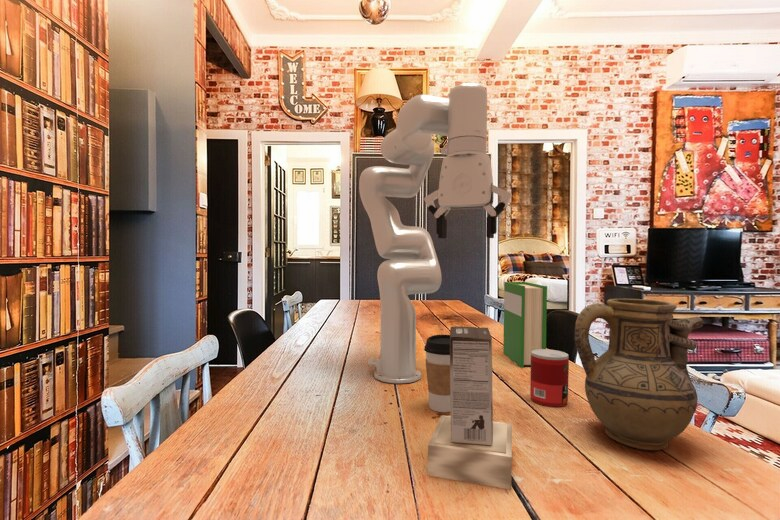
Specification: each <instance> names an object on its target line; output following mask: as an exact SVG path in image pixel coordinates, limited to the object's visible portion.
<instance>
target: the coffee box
mask: <svg viewBox="0 0 780 520" xmlns="http://www.w3.org/2000/svg"><path fill="white" fill-rule="evenodd" d="M449 335H450V406H451V412H450V416H451V442H456V443H470V444H484V445H492V444H493V422H494V421H493V420H494V419H493V416H494V415H493V408H494V406H493V337H492V335H491V332H490V330H489V328H488V327H476V326H461V325H460V326H459V325H457V326H451V327H450V332H449Z"/></svg>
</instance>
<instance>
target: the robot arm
mask: <svg viewBox="0 0 780 520" xmlns="http://www.w3.org/2000/svg"><path fill="white" fill-rule="evenodd" d="M395 122H396V123H395V124H396V125H395V126H396V127H395V129H393V130H392V131H391V132H388V133H387V134H386V135H385V136H384V137H383V139H382V140H381V144H380V148H379V149H380V153H381V155H382V157H383V158H384V159H385V160H386V161H388V162H390V163H393V164H397V165H398V164H399V165H407V166H409V167H408V168H402V167H392V166H384V165H383V166H381V165H378V166H377V165H375V166H369V167H366V168H365V169H363V170H362V172H361V173H360V176H359V183H358V185H359V186H358V187H359V196H360V200H361V203H362V205H363V208H364V209H365V211H366V214H367V216H368V218H369V220H370V224H371V226H370V227H371V231H372V235H373V238H374V239H373V240H374V244H375V247H376V251H377V253H378V255H379V256H380V257H381V258H383V259H385V260H384V261H383V262H381V264H380V265H379V266H378V269H377V273H376V275H377V284H378V290H379V291H378V292H379V301H380V334H379V335H380V336H379V337H380V341H379V342H380V343H379V344H380V345H379V346H380V350H379V351H380V352H379V353H380V354H379V355H380V356H379V358H377V357H371V356H370V357H369V359H368V360H367V361H368V362H367V363H368V366H369V367H375V368H376V369H375V370H374V372H373V373H374V374H373V375H374V376H373V377H374V378H375V379H376V380H378V381H380V382H383V383H388V384H408V383H415V382H417V381H419V380H420V379H421V378H422V372H421V370H419V369H417V368H416V366H417V364H416V363H417V361H416V359H417V357H416V355H417V353H416V352H417V349H416V348H417V311H416V307H415V305H414V304H413V302H412V301H411V299H410V298H409V295H425V294H426V295H427V294H432V293H435V292H437V291H438V290H439V289H440V287H441V284H442V280H443V279H442V271H441V266H440V261H439V259H438V255H437V253H436V249H435V246H434V241H433V239H432V236H431V235H430V233H429V231H427V230H426V228H424V227H420V226H413V225H411V226H410V225H405V224H403V223H402V221H401V218H400V216H401V215H400V214H399V211H398V209H397V208H396V206H395V205H394V204H393V203H392V202H391V201H389V200H388V199H387V197H389V198H403V199H404V198H405V199H409V198H413V197H415V196H417V194H418V193H419V192H420V189H421V187H422V186H423V182H424V181H425V178H426V175H427V173H428V171H429V168H430V167H431V164H432V162H433V160H434V159H433V158H434V155H435V144H434V141H433V139H432V135H438V136H445V137H447V142H446V145H445V146H444V147H441V148H440V154H441V155H446V157H443V159H442V163H441V169H440V175H439V183H438V188H437V189H436V190H434V191H432V192H431V193H430V194H428V195H426V196H425V197H424V202H425V205H426V207H427V208H428V210H429V212H430V213H431V214H432V215H433V216H434V218H435V219H436V225H435V226H436V228H435V229H436V232H435V233H436V235H438V236H437V238H438V239H442V240H443V239H447V234H448V231H447V229H448V226H447V225H448V224H447V223H448V222H447V221H448V220H447V219H446V216H447V215H448V214H449V212H450V211H451V210H475V209H484V210H485V211H486V212H487V213H488V215H487V217H486V234H485V235H486V238H488V239H495V235H496V234H497V231H498V230H497V229H498V228H497V227H498V225H497V222H498V220H497V219H498V217H499V216H500V215H501V214H502V213H503V211H504V210H505V209H506V208H507V206H508V204H509V202H510V200H511V199H512V197H513V194H512V193H511V192H510V191H507V190H505V189H503V188H501V187H498V186H496V185H494V178H493V168H492V163H491V157H490V155H489V154H487V147H488V146H487V141H488V140H487V136H488V134H487V132H488V91H487V89H486V88H485V87H484V86H483V85H481V84H480V83H475V82H466V83H461V84H457V85H455V86H454V87H452V88H451V89H450V91H449V93H448V97H443V96H438V95H434V94H433V95H431V94H426V93H425V94H417V95H415V96H413V97H412V98H410V99H409V100H408V101H407V102H405V103H404V104H403V105H402V106H401V108H400V110H399V112H398V114H397V118H396V121H395ZM495 194H496V195H498V196H500V197H501V200H500V201H499V203H498V204H496V206H495V207H494V205H493V204H494V195H495ZM435 200H438V202H437V203H438V205H439V208H438V207H437V206H436V205H435Z"/></svg>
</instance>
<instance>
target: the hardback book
mask: <svg viewBox="0 0 780 520" xmlns="http://www.w3.org/2000/svg"><path fill="white" fill-rule="evenodd" d="M503 286H504V288H503V289H504V290H503V291H504V292H503V345H502V346H503V348H502V349H503V354H504V355H505V357H507V356H508V357H509V358H508V357H507V358H508V359H509V360H511V361H512V362H513V363H514V362H515V363H516V364H515V363H514V364H515V365H517V366H518V367H519V368H520V369H523V368H525V367H524V366H531V351H533V350H537V349H547V318H548V317H547V313H548V312H547V310H548V309H547V307H548V306H547V305H548V286H547V285H541V284H537V283H533V282H528V281H504V285H503Z"/></svg>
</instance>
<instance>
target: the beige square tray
mask: <svg viewBox="0 0 780 520" xmlns="http://www.w3.org/2000/svg"><path fill="white" fill-rule="evenodd" d="M512 455H513V423H507V422H501V421H500V422H499V421H493V444H492V445H484V444H470V443H456V442H451V415H443V414H441V415H440V418H439V420H438V422H437V424H436V427H435V428H434V431H433V433H432V436H431V438H430V440H429V442H428V444H427V476H430V477H435V478H440V479H441V478H442V479H446V480H453V481H458V482H466V483H470V484H477V485H481V486H482V485H483V486H488V487H492V488H493V487H494V488H499V489H506V490H512V476H513V475H512V473H513V472H512V471H513V469H512V467H513V465H512V464H513V461H512V460H513V458H512V457H513V456H512Z"/></svg>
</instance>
